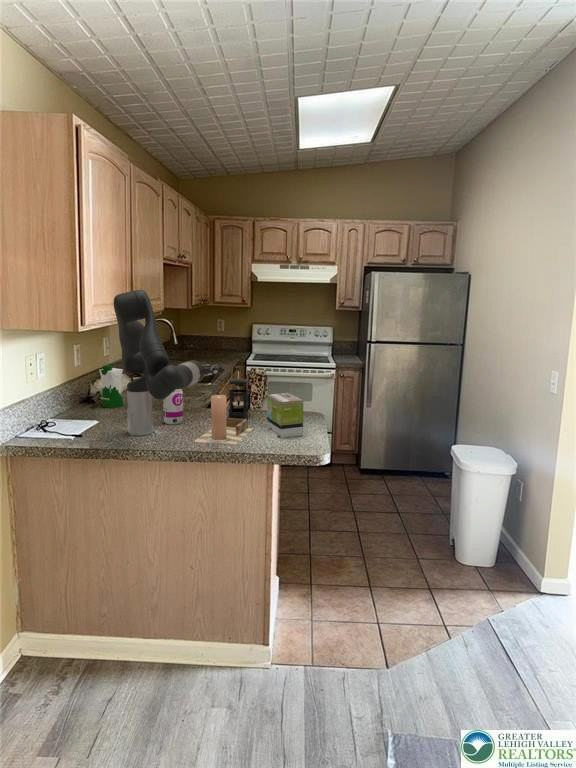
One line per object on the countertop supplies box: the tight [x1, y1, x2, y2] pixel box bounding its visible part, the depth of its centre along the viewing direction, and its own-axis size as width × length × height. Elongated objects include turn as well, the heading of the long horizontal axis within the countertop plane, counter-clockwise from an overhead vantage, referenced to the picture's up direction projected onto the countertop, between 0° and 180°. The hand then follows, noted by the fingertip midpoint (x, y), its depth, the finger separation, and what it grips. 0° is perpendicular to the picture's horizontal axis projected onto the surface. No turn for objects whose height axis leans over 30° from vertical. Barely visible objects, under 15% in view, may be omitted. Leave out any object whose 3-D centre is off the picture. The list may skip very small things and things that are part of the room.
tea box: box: [266, 392, 304, 439], centre depth 214 cm, size 15×10×15 cm
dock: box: [193, 417, 255, 446], centre depth 207 cm, size 25×16×4 cm, turn 167°
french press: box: [227, 365, 251, 419], centre depth 237 cm, size 12×9×23 cm
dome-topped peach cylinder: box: [210, 394, 227, 440], centre depth 201 cm, size 8×6×16 cm
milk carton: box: [99, 364, 124, 409], centre depth 257 cm, size 9×9×20 cm
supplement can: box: [162, 388, 184, 425], centre depth 228 cm, size 8×8×15 cm
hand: (207, 366), depth 186 cm, fingers open, 8 cm apart
